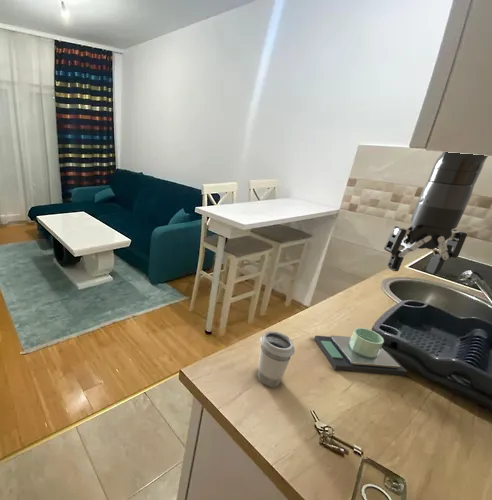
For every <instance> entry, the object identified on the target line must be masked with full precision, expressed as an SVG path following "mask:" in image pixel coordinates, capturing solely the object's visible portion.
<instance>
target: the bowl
mask: <svg viewBox="0 0 492 500" xmlns="http://www.w3.org/2000/svg"><path fill="white" fill-rule="evenodd" d="M350 337H351V339H350V342H349V344H350V346H351V348H352V349H353V350H354V351H355V352H357V353H358V354H360V355H363V356H366V357H375V356H377V355H378V354H379V352H380V350H381V348H382V346H383V345H384V343H385V339H384V337H383V336H382V335H381V334H379V333H377V332H376V331H374V330H372V329H369V328H364V327H356V328H354V329H353V331H352V334H351V336H350Z"/></svg>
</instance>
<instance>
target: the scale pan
mask: <svg viewBox="0 0 492 500" xmlns="http://www.w3.org/2000/svg"><path fill="white" fill-rule="evenodd" d="M329 337H330V338H331V339H332V340H333V342H334V343H335V344H336V345H337V347H338V348H339V349H340V350H341V352H342V353H343V354H344V356H345V357H346V358H347V359H348V361H349V362H350V363H351V364H355V365H367V366H378V367H390V368H400V366H399V364H398V363H397V362H396V361H395V360H394V359H393V358H392V357H391V356H390V355H389V354H388V353H387V352H386V351H385V350H384V349H383V348H381V350H380V352H379V354H378V355H377V356H375V357H366V356H363V355H360V354H358V353H357V352H355V351H354V350H353V349H352V348H351V346H350V344H349V342H350V339H351V336H345V335H335V334H334V335H332V334H331V335H329Z"/></svg>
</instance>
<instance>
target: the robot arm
mask: <svg viewBox="0 0 492 500" xmlns="http://www.w3.org/2000/svg"><path fill="white" fill-rule="evenodd" d="M488 157H489V156H484V155H473V154H460V153H448V152H442V153H440V155H439V156H438V157H437V159H436V161H435V162H434V164H433V167H432V168H431V171H430V174H429V177H428V179H427V181H426V184H425V185H424V187H423V188H422V190H421V192H420V195H419V198H418V200H417V202H416V205H415V207H414V210H413V213H412V214H411V217H410V225H409V227H408V228H402V227H400V226H395V225H394V226H393V227H392V230H391V231H390V234H389V236H388V238H387V241H386V243H385V245H384V247H383V249H384V250H385V251H386V252H388V253H390V254H391V255H390V258H389V260H388V263H387V267H388V269H389V270H391V271H392V272H399V270H400V268H401V266H402V263H403V261H404V256H406V255H407V254H408V253H410V252H415V251H416V250H417V249H418V250H420V249H421V250H423V249H428V250H431V251H432V253H433V255H432V256H431V258H430V260H429V262H428V264H427V266H426V269H425V270H426V272H428V273H430V274H431V275H432V274H433V275H437V274H438V273H439V272H440V271H441V269H442V267H443V265H444V263H445V262H446V260H448V259H451V258H453V259H456V258H458V257H459V256H460V253H461V251H462V248H463V246H464V243H465V241H466V238H467V236H468V233H466V232H464V231H461V230H458V229H456V228H457V227H458V225H459V224H460V221H461V219H462V217H463V215H464V213H465V211H466V209H467V206H468V205H469V202H470V200H471V198H472V194H473V191H474V188H475V185H476V183H477V181H478V178H480V175H481V172H482V170H483V167H484V164H485V163H486V161H487V159H488Z"/></svg>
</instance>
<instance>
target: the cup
mask: <svg viewBox="0 0 492 500" xmlns="http://www.w3.org/2000/svg"><path fill="white" fill-rule="evenodd" d="M259 342H260V350H259V356H258V357H259V358H258V363H257V378H258V380H259V382H260V383H262V384H263V385H264V386H267V387H269V388H275V387H278V386H280V383H281V380H282V379H283V377H284V374H285V371H286V370H287V367H288V365H289V362H290V360H291V357H292V356H293V355H295V352H296V350H295V346H294V342H293V340H292V339H291V338H290V337H289V336H288V335H286V334H284V333H283V332H278V331H271V330H269V331H267V332H265V333H264V334H263V335H261V337H260V340H259Z"/></svg>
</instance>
